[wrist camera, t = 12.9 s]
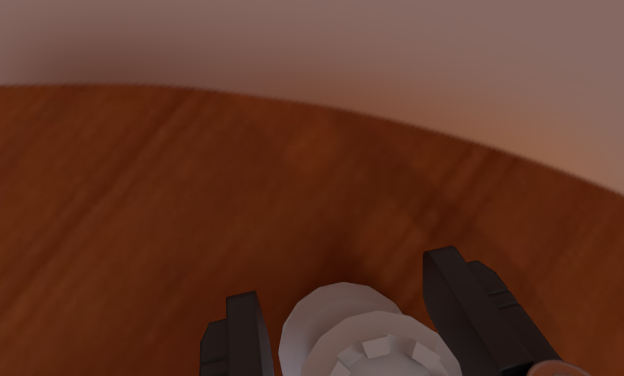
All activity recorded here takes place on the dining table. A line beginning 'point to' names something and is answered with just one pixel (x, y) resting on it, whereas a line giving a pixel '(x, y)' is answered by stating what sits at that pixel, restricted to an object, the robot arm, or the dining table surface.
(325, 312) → the rook chess piece
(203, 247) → the dining table surface
